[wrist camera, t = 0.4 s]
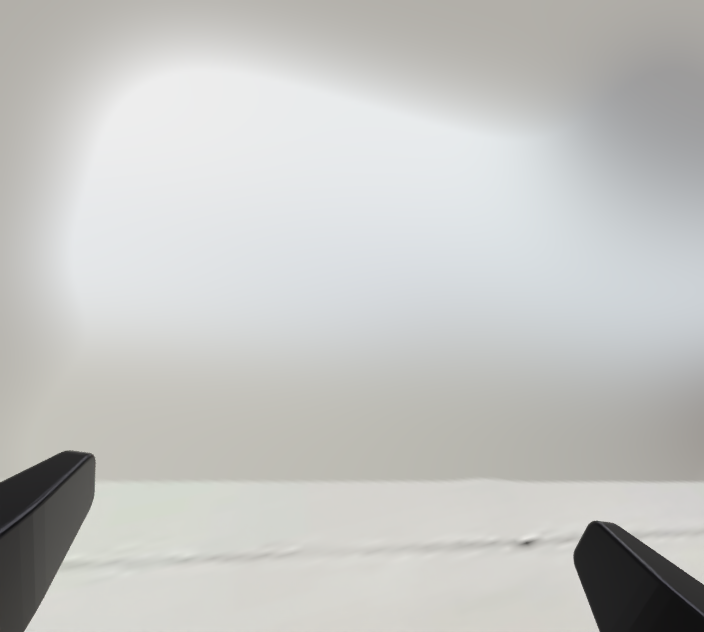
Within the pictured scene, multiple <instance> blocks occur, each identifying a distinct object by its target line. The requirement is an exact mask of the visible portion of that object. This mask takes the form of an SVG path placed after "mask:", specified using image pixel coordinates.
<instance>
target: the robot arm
mask: <svg viewBox="0 0 704 632" xmlns="http://www.w3.org/2000/svg"><path fill="white" fill-rule="evenodd" d="M94 492H95V457H94V455H93V454H91V453H86V452H79V451H64V452H61V453H59V454H57V455H55V456H53V457H51V458H49V459H47V460H45V461H43V462H41V463H39V464H37V465H35V466H33V467H31V468H29V469H26V470H24V471H22V472H21V473H18V474H16V475H14V476H12V477H10V478H8V479H6V480H4V481H2V482H0V632H24V631H25V629H26V627H27V626H28V624H29V623H30V621H31V619H32V618H33V616H34V614H35V613H36V611H37V609H38V607H39V605H40V604H41V602H42V600H43V598H44V596H45V594H46V592H47V591H48V589H49V587H50V585H51V583H52V581H53V579H54V577H55V575H56V573H57V571H58V569H59V567H60V566H61V564H62V562H63V560H64V558H65V556H66V554H67V552H68V550H69V548H70V546H71V544H72V542H73V540H74V539H75V537H76V535H77V533H78V531H79V529H80V527H81V525H82V523H83V521H84V519H85V517H86V515H87V514H88V512H89V510H90V507H91V505H92V502H93V499H94ZM573 556H574V565H575V568H576V570H577V573H578V576H579V578H580V581H581V584H582V586H583V589H584V592H585V594H586V597H587V599H588V602H589V605H590V607H591V610H592V613H593V615H594V618H595V621H596V623H597V626H598V628H599V631H600V632H704V585H703V584H702V583H700V582H699V581H697V580H696V579H695V578H693V577H692V576H690V575H689V574H687V573H686V572H684V571H683V570H682V569H680V568H679V567H677V566H676V565H674V564H673V563H671V562H670V561H669V560H667V559H666V558H664V557H663V556H661V555H660V554H658V553H657V552H656V551H654V550H653V549H651V548H650V547H648V546H647V545H645V544H644V543H643V542H641V541H640V540H638V539H637V538H635V537H634V536H633V535H631V534H630V533H628V532H627V531H625V530H624V529H622V528H621V527H620V526H618V525H616V524H614V523H610V522H602V521H592V522H591V523H590V524H589V525H588V526H587V528H586V530H585V532H584V534H583V535H582V537H581V539H580V541H579V543H578V545H577V547H576V548H575V551H574V555H573Z"/></svg>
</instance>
